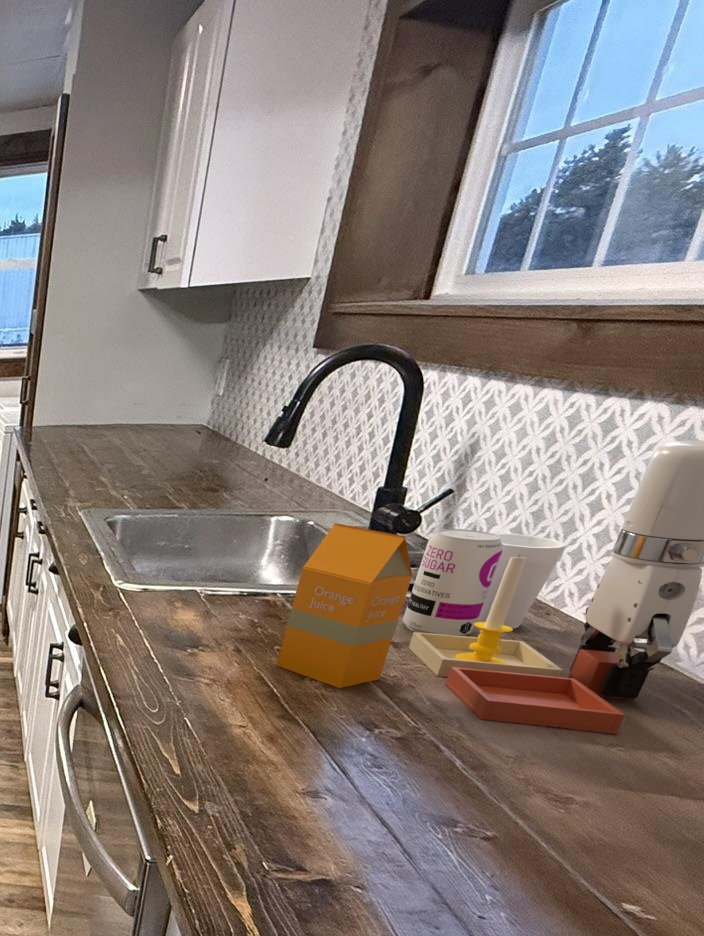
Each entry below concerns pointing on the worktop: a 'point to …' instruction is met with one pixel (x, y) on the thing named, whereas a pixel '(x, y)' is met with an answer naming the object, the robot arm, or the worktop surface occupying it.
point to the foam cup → (523, 573)
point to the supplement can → (453, 582)
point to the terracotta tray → (533, 700)
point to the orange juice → (347, 606)
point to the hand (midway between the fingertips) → (602, 684)
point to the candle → (496, 616)
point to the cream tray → (444, 648)
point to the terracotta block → (594, 669)
